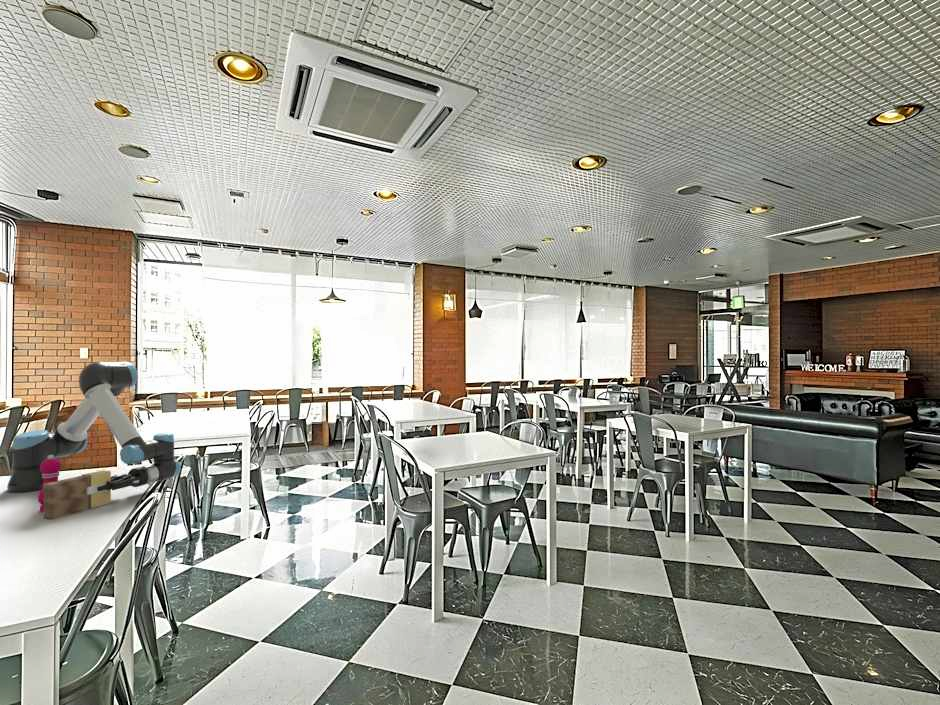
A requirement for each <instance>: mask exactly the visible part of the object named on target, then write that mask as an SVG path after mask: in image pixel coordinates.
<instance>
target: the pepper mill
mask: <svg viewBox="0 0 940 705" xmlns="http://www.w3.org/2000/svg"><path fill="white" fill-rule="evenodd" d="M53 458H54V456H53V455H49V456H48V460H45V461H43V462H42V463H41V465H40V470H41V471H42V472H43V473H42V478H43V480H44V482H43V484H46V483H50V482H55V481H59V476H60V473H61V472H60V469H61V468H62V463H61V461H60V460H59V459H58V458H54V459H53ZM37 496H38V497H37V502H38V503H39V504H40V506H39V513H40V512H41V513H44V486H43V487H42V489H41V490H40V491H39V494H38V495H37Z"/></svg>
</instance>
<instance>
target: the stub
mask: <svg viewBox="0 0 940 705" xmlns="http://www.w3.org/2000/svg"><path fill="white" fill-rule="evenodd" d="M111 473H112V471H111V470H105V469H102V470H97V471H94V472H93V471H92V472H89V473H84V474H81V475H80V476H84V477H88V487H90V486H94V485H98V484H102V483H106V485H107V482H108V481H110V482H111V475H112V474H111ZM111 490H112V489H111ZM111 490H107V489H106V490H105V491H101V492H97V493H94V494H90V495H88V510H89V509H93V508H97V507H100V506H103V505H107V504H110V503H111V502H112V500H111V499H112V495H111V494H112V491H111Z"/></svg>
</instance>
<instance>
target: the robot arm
mask: <svg viewBox="0 0 940 705" xmlns="http://www.w3.org/2000/svg"><path fill="white" fill-rule="evenodd" d="M138 376H139V375H138V370H137V368H136V367H135V366H134V364H132V363H131V362H130V361H122V360H120V361H118V360H117V361H95V362H92V363H89V364H87V365H85V366H84V367H83V368H82V370H81V371H80V373H79V377H78V386H79V389H80V391H81V393H82V395H83V396H84V398H83V400H82V401H81V402H80V404H79V405H78V406H77V407H76V409H75V410H74V411H73V413H72V414H71V416H69V418H68V419H67V420H66V421H64V422H61V423H60V424H58V426H57V427H56V428H55V429H54V431H50V432H49V431H48V430H46V429H39V430H38V429H37V430H34V431H33V430H31V431H25V432H23V433H19V434H17V435H16V436H14V437H13V439H12V446H11V447H12V473H11V474H10V477H9V481H8V483H7V487H6V488H7V489H6V491H7V493H25V492H26V493H27V492H33V491H39V490H40V491H41V489H42V487H43V482H44V480H43V478H42V473H43V472H42V471H41V470H40V465H41V463H42V462H43V461H45V460H48V456H49V455H53V456H54V458H53V459H59V458H64V457H69V456H74V455H76V454H80V453H81V452H83V450H85V448H87V445H88V432H87V431H88V430H89V429H90V427H91V426H93V423H94V422H95V421H96V420H97V418H98V417H99V416H101V418H102V420H103V421H104V423H105V424H106V426H107V427H108V429H109V430H110V432H111V433H112V436H114V438H115V439H116V440H117V443H118V444H119V446H120V447H121V449H120V451H119V457H120V461H121V462H122V463H124V464H126V465H135V464H139V463H142V462H145V461H146V462H147V461H150V460H153V463H152V464H147V465H142V466H138V467H134V468H131V469H130V470H129V471H128V473H124V474H121V475H117V474H115V475H112V476H111V482H110V481H108V482H107V485H106V483H102V484H98V485H94V486H90V487H86V495H90V494H94V493H97V492H101V491H105V490H106V489H107V490H112V491H116V490H120V489H125V488H127V487H133V488H138V487H141V486H145V485H148V486H150V485H151V484H153V483H157V482H160V481H163V480H162V479H164V478H166V479H165V480H169V479H172V478H175V477H177V476H179V475H180V473H181V470H182V466H181V465H180V461H178V460H177V459H175V437H174V434H172V433H171V432H164V433H163V432H162V433H156V434H154V435H153V438H152V440H150V441H149V440H148V441H144V439H143V437H142V436H141V435H140V433H139V432H138V430H137V428H136V427H135V426H134V423H133V422H132V421H131V419H130V418H129V416H128V415H127V413H126V411H125V410H124V408H123V407H122V406H121V404H120V403H119V401H118V399H117V397H118V396H120V395H121V394H122V393H123V391H124V390H126V389H130V388H132V387H135V385H136V383H137V382H138Z"/></svg>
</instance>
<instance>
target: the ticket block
mask: <svg viewBox="0 0 940 705" xmlns="http://www.w3.org/2000/svg"><path fill="white" fill-rule="evenodd" d="M43 486H44V512H43V519H44V520H48V521H49V520H50V521H53V520H57V519H60V518H63V517H67V516H71V515H74V514H78V513H81V512H85V511H86V512H87V511H88V510H89V509H88V495H86V487H88V477H84V476H81V475H79V476H74V477H70V478H65V479H61V480H58V481H55V482H50V483H46V484H43Z"/></svg>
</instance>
